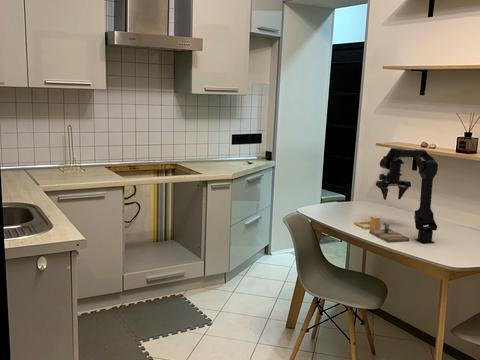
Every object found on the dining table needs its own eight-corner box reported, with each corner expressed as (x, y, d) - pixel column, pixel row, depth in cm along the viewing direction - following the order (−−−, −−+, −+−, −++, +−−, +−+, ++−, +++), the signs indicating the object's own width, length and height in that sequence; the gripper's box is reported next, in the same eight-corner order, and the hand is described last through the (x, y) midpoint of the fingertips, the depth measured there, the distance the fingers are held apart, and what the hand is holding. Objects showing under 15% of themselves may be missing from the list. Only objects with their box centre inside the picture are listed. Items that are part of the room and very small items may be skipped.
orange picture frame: (353, 224, 257) (354, 211, 256) (369, 223, 260) (370, 210, 259) (368, 231, 244) (369, 218, 243) (384, 230, 247) (386, 217, 246)
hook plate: (409, 241, 231) (410, 229, 229) (388, 242, 227) (389, 230, 226) (389, 231, 245) (390, 220, 244) (369, 232, 242) (370, 221, 241)
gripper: (400, 168, 262) (397, 195, 265) (371, 169, 256) (368, 197, 259) (413, 171, 252) (410, 200, 255) (383, 172, 246) (380, 201, 249)
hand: (392, 199), depth 255 cm, fingers open, 9 cm apart
